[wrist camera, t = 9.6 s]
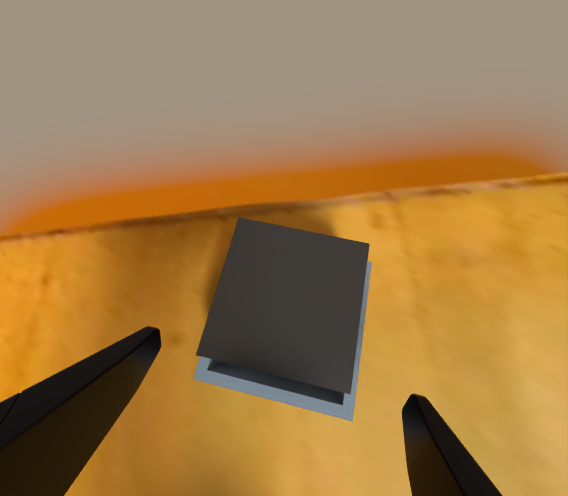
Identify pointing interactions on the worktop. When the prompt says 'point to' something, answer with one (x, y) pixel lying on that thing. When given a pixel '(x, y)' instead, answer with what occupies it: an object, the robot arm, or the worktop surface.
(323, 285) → the dark square pedestal
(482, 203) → the worktop surface
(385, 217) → the worktop surface
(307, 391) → the box
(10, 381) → the worktop surface
